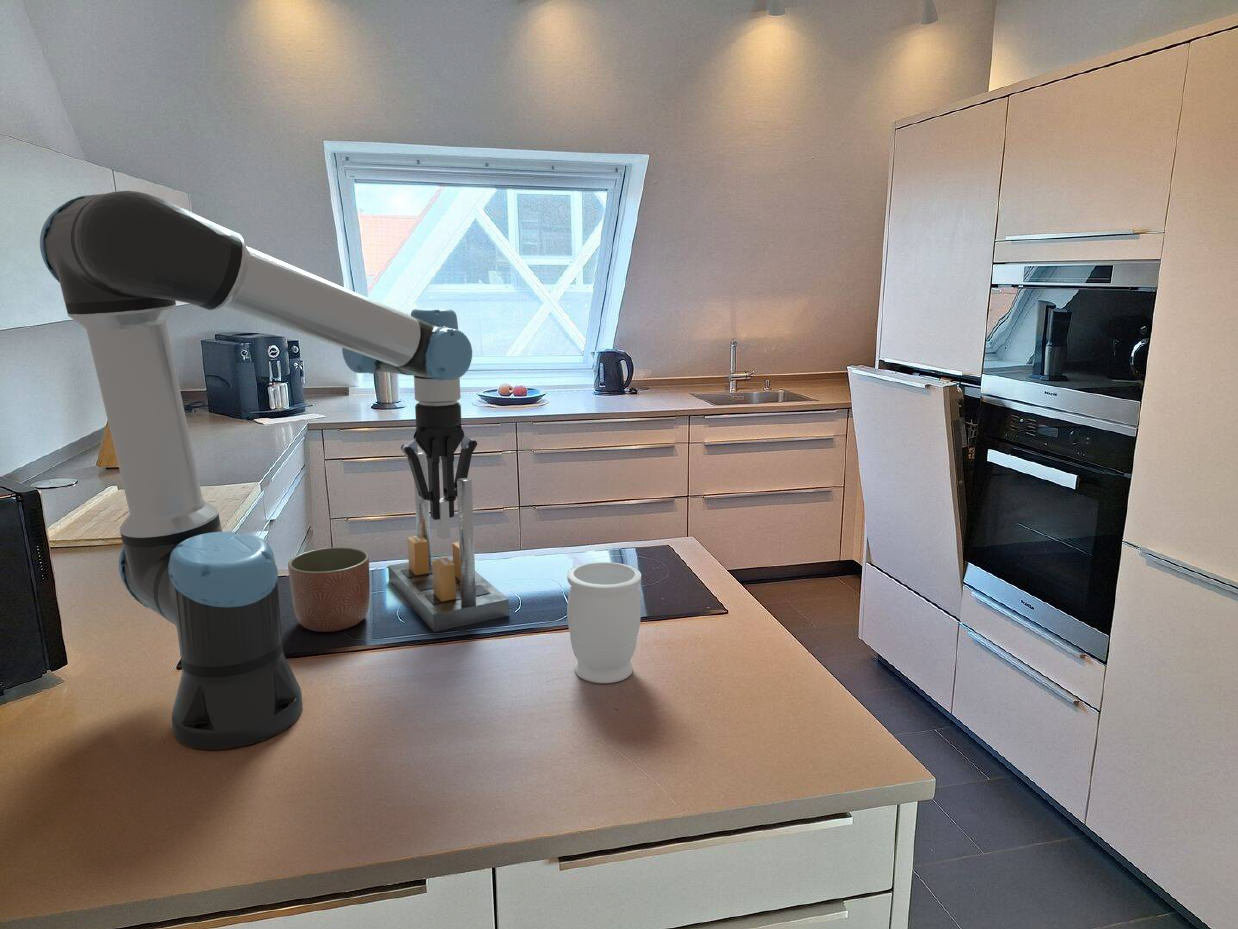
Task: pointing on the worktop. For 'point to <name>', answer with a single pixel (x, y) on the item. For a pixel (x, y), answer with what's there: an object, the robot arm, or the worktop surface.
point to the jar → (603, 619)
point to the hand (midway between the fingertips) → (443, 536)
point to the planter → (330, 588)
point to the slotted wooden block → (444, 579)
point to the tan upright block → (456, 559)
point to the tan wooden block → (418, 555)
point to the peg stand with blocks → (471, 590)
